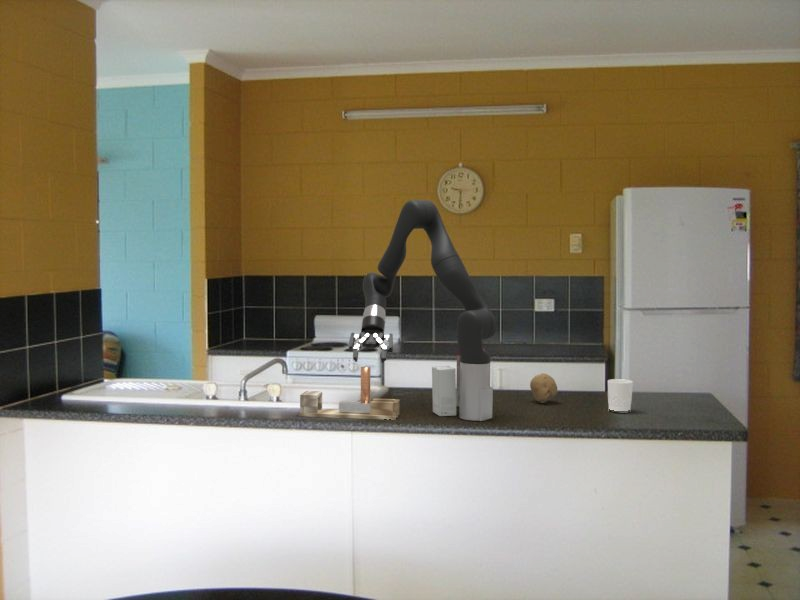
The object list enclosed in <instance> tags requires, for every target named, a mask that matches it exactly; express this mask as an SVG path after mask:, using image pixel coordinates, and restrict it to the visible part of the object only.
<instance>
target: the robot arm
mask: <svg viewBox="0 0 800 600" xmlns="http://www.w3.org/2000/svg"><path fill="white" fill-rule="evenodd" d="M398 215H399V216H398V218H397V220H396V221H397V222H396V223H395V226H394V230H393V233H392V235H391V238H390V241H389V244H388V246H387V248H386V250H385V252H384V254H382V257H381V258H380V260H379V262H378V264H377V270H378V272H379V273H380V274H377V273H375V272H369V273H367V274H366V275H365V276H364V278H363V280H362V290H363V295H364V301H365V304H364V305H365V306H364V311H363V314H362V320H361V329H360V330H361V331H360V333H359V334H355V332H351V333H350V337H349V340H348V350H349V352H352V359H353V361H354V363H355V362H356V363H357V362H358V360H359V353H360V351H362V350H364V349H365V348H378V349H379V350H380V351H381V355H380V356H381V357H380V360H381V363H385V362H386V360H387V355H388V353H393V352H394V336H393V335H394V334H393V333H389V334H385V328H386V327H385V325H386V309H387V299H386V298H388V297H390V296H391V295H392V293H393V290H394V284H395V280H396V277H397V274H398V272H399V270H400V268H401V267H402V265H403V263H404V262H405V259H406V255H407V240H408V237H409V236H410V234H411V233H412V232H413V231H414V229H416V230H417V229H418V230H419V229H420V230H421V229H423V230H424V232H425V233H426V235H427V236H428V239H429V241H430V244H431V253H430V264H431V267H432V270H433V272H434V273H435V275H436V278H437V279H438V282H439V283H440V284H441V286H442V287H443V288H444V289H445V290H446V291H448V292H449V293H450V295H451V296H453V297H454V298H455V299H456V300H457V301H458V302H459V303H460V304H461V306H462V308H463V309H464V311H463V312H461V314H460V315H459V317H458V320H457V325H456V326H457V327H456V335H457V338H456V339H457V350H458V353H459V355H460V407H459V411H458V412H459V418H460V419H462V420H465V421H473V422H474V421H477V422H478V421H479V422H482V421H487V420H491V419H493V396H494V395H493V394H494V393H493V391H494V390H493V386H492V387H491V353H490V352H488V351H486V350H485V349H484V348H483V341H482V340H487V339H488V340H489V339H490V338H492V337H494V335H495V333H496V331H497V322H496V318H495V316H494V314H493V312H492V310H491V309H490V308H489V306H488V305H487V304H486V302H485V300H484V299H483V298H482V296H481V294H480V292H479V290H478V289H477V287H476V285H475V284H474V282H473V280H472V278H471V277H470V275H469V273H468V271H467V268H466V266H465V264H464V263H463V261H462V258H461V257H460V255H459V254H458V253H459V252H457V250H456V247H455V246H454V244H453V242H452V239H451V238H450V236H449V234H448V231H447V230H446V226H445V223H444V221H443V219H442V216H441V214H440V212H439V209H438V208H437V206H436V204H434V202H432V201H430V200H428V199H427V200H425V199H412V200H408V201H407V202H405V203H404V205H403V206H402V208H401V211H400V213H399V214H398ZM357 340H358V341H357ZM385 340H386V342H388V346H387V345H385V343H384V341H385ZM356 342H357V343H356ZM355 343H356V344H355ZM483 349H484V350H485V351H484V350H483Z"/></svg>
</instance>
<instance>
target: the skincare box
mask: <svg viewBox="0 0 800 600" xmlns="http://www.w3.org/2000/svg"><path fill="white" fill-rule="evenodd" d="M456 375H457V371H456V368H455V367H452V366H449V365H438V366H431V388H432V389H431V391H432V397H431V398H432V413H434V414H435V415H438V416H439V417H448V416H449V417H456V416H457V406H456Z"/></svg>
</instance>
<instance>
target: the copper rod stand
mask: <svg viewBox="0 0 800 600" xmlns="http://www.w3.org/2000/svg"><path fill="white" fill-rule="evenodd" d="M371 371H372V370H371V366H360V400H359V401H358V400H356V401H354V400H353V401H352V400H340V401H339V402H338V409H339V412H346V413H370V402H371Z"/></svg>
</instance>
